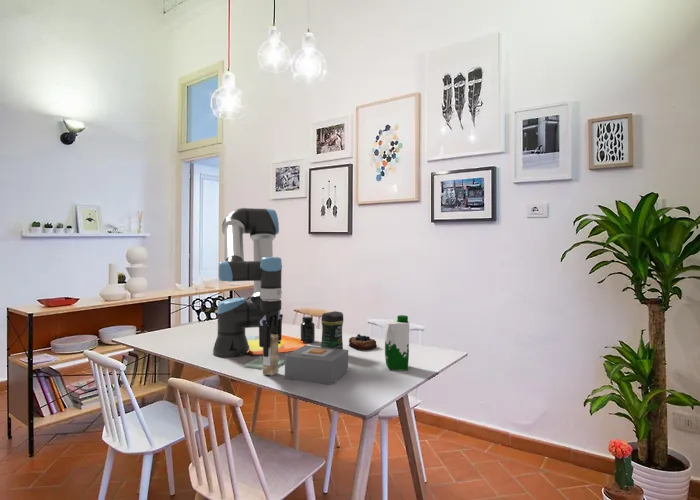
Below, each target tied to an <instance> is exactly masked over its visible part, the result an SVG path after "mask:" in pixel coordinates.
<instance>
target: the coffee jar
mask: <svg viewBox="0 0 700 500" xmlns="http://www.w3.org/2000/svg"><path fill="white" fill-rule="evenodd" d="M320 321H321V325H322V328H321V330H322V333H321V344H320V345H321V346H320V347H326V348H335V349H344V344H343V324H344V313H343V312H341V311H336V310H335V311H329V312H325V313H323V314H322V315H321V320H320Z"/></svg>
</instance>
